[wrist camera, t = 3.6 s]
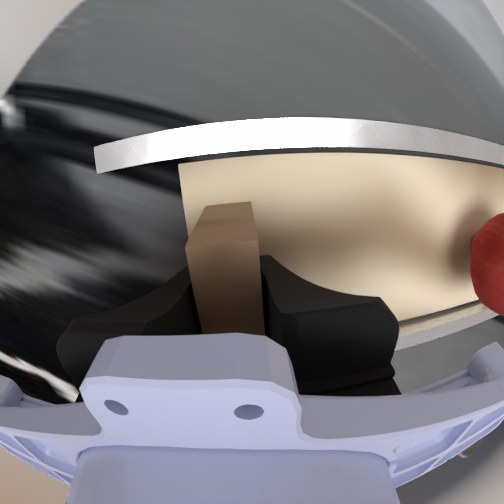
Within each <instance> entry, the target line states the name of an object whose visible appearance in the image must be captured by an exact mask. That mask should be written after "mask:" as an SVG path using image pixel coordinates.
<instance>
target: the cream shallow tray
mask: <svg viewBox="0 0 504 504" xmlns="http://www.w3.org/2000/svg"><path fill="white" fill-rule="evenodd" d="M178 167H179V175H180V183H181V191H182V198H183V205H184V212H185V219H186V225H187V232H188V238H189V239H188V241H187V243H186V245H185V251H186V257H187V262H188V267H189V273H190V278H191V283H192V288H193V293H194V298H195V302H196V307H197V312H198V316H199V321H200V325H201V329H202V334H203V335H205V334H224V333H244V334H252V335H261V336H265V328H264V313H263V299H262V284H261V270H260V257H259V256H261V255H271V256H272V257H273V258H274V259H275V260H277V261H278V262H279V263H280V264H282V265H283V266H284V267H286V268H287V269H288V270H290V271H291V272H293V273H295V274H296V275H298V276H299V277H301V278H303V279H305V280H307V281H309V282H312V283H314V284H316V285H319V286H321V287H324V288H328V289H331V290H334V291H338V292H342V293H348V294H353V295H362V296H374V297H380V298H381V299H382V300H383V301H384V302H385V303H386V305H387V306H388V307H389V308H390V310H391V311H392V312H393V314H394V315H395V317H396V318H397V320H398V321H401V320H405V319H410V318H414V317H418V316H422V315H426V314H430V313H434V312H437V311H441V310H445V309H448V308H452V307H455V306H459V305H462V304H465V303H468V302H472V301H475V300H478V299H479V298H478V297H477V295H476V294H475V291H474V287H473V284H472V280H471V275H470V242H471V239H472V237H473V235H474V234H475V233H477V232H478V231H479V230H480V229H481V227H482V226H483V225H484V224H485V223H486V222H487V221H488V220H489V219H491V218H492V217H494V216H496V215H497V214H501V213H504V168H499V167H494V166H488V165H483V164H477V163H471V162H464V161H457V160H449V159H441V158H433V157H423V156H411V155H398V154H381V153H350V152H316V153H285V154H266V155H252V156H240V157H229V158H220V159H211V160H202V161H195V162H187V163H180V164H178Z"/></svg>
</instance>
